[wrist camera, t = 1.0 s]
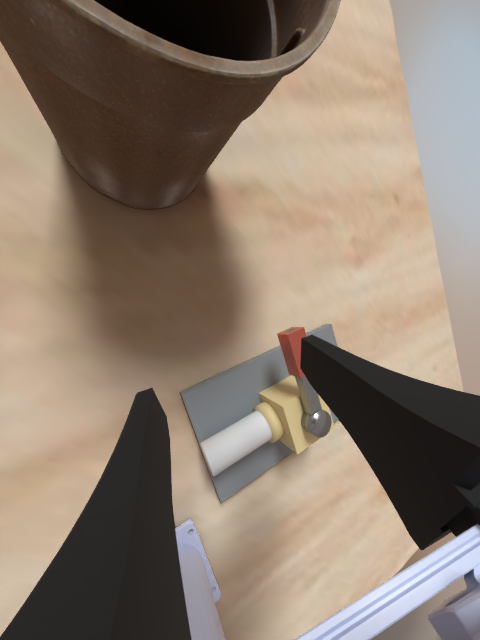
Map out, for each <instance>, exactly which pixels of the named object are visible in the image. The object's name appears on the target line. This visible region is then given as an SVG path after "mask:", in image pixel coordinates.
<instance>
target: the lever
mask: <svg viewBox="0 0 480 640" xmlns="http://www.w3.org/2000/svg"><path fill="white" fill-rule="evenodd" d="M277 335H278V338H279V342H280V345H281V349H282V352H283V355H284V359H285V362H286V366H287V369H288V372H289V375H292V376H295V379H296V382H297V386H298V389H299V393H300V396H301V399H302V403H303V406H304V410H305V412H304V413H303V416H302V425H303V428H304V429H305V430H306V431H308V432H309V433H311V434H313V435H314V436H316V437H318V438H321V437H324V436H325V435H327V434H328V432H329V430H330V428H331V424H332V420H331V416H330V414H329V413H328V412H326V411H324V410H322V407H321V403H320V400H319V396H318V393H317V392H316V391H315V390H314V388H313V387H312V386H311V384H310V383H309V381H308V380H307V378H306V377H305V375H304V373H303V372H302V370H301V368H300V361H301V338H303V337H306V333H305V329H304V327H291V328H289V329H287V330H285V331H282V332H280V333H278V334H277Z"/></svg>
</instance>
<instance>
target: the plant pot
mask: <svg viewBox="0 0 480 640" xmlns="http://www.w3.org/2000/svg"><path fill="white" fill-rule="evenodd" d="M340 1H341V0H0V41H1V43H2V45H3V46H4V48H5V50H6V51H7V53H8V55H9V57H10V58H11V60H12V62H13V64H14V65H15V67H16V69H17V71H18V72H19V74H20V76H21V78H22V80H23V81H24V83H25V85H26V87H27V89H28V90H29V92H30V94H31V96H32V97H33V99H34V101H35V103H36V104H37V106H38V108H39V110H40V112H41V113H42V115H43V117H44V119H45V120H46V122H47V124H48V126H49V128H50V129H51V131H52V133H53V135H54V137H55V139H56V140H57V142H58V144H59V146H60V148H61V150H62V152H63V154H64V155H65V157H66V158H67V160H68V161H69V163H70V164H71V166H72V167H73V168H74V169H75V171H76V172H77V173H78V174H79V175H80V176H81V177H82V178H83V179H84V180H85V181H86V182H87V183H88V184H89V185H90V186H91V187H93V188H94V189H95V190H97V191H98V192H100V193H102V194H104V195H107V196H109V197H111V198H113V199H115V200H117V201H119V202H121V203H123V204H125V205H127V206H130V207H134V208H140V209H159V208H164V207H169V206H171V205H174V204H176V203H178V202H180V201H182V200H183V199H185V198H186V197H187V196H188V195H189V194H190V193H191V192H192V191H193V190H194V189H195V187H196V185H197V184H198V182H199V181H200V179H201V178H202V176H203V175H204V174H205V172H206V171H207V169H208V168H209V166H210V165H211V164H212V162H213V161H214V159H215V158H216V157H217V155H218V154H219V152H220V151H221V150H222V148H223V147H224V145H225V144H226V143H227V141H228V140H229V138H230V137H231V136H232V134H233V133H234V132H235V130H236V129H237V127H238V126H239V125H240V123H241V122H242V121H243V120H245V119H246V118H248V117H249V116H250V115H251V114H253V113H254V112H255V111H256V110H257V109H258V108H259V107H260V106H261V104H262V103H263V102H264V100H265V99H266V98H267V96H268V95H269V94H270V92H271V91H272V90H273V89H274V87H275V86H276V85H277V83H278V82H279V81H280V80H281V78H282V77H283V76H285V75H287V74H290V73H291V72H293V71H294V70H296V69H297V68H299V67H300V66H301V65H303V64H304V63H305V62H306V61H307V60H308V59H309V58H310V57H311V55H312V54H313V53H314V52H315V51H316V49H317V48H318V47H319V46H320V45H321V43H322V42H323V40H324V39H325V37H326V36H327V34H328V32H329V31H330V29H331V27H332V24H333V22H334V20H335V17H336V14H337V11H338V8H339V5H340Z"/></svg>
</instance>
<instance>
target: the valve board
mask: <svg viewBox="0 0 480 640" xmlns="http://www.w3.org/2000/svg"><path fill="white" fill-rule="evenodd" d="M309 335H314V336H317V337H319V338H321V339H323V340H325V341H327V342H329V343H331V344H333V345H335V346H337V343H336V340H335V336H334V332H333V328H332V324H325V325H323V326H321V327H319V328H317V329H315V330H313V331H310V332H308V333H306V336H309ZM180 394H181V396H182V399H183V402H184V405H185V407H186V410H187V413H188V416H189V418H190V421H191V424H192V427H193V429H194V432H195V435H196V437H197V440H198V443H199V446H200V448H201V451H202V454H203V457H204V459H205V462H206V465H207V467H208V470H209V473H210V476H211V478H212V481H213V484H214V487H215V489H216V492H217V495H218V497H219V499H220V501H221V503H222V502H224V501H225V500H226V499H228V498H229V497H231V496H232V495H233V494H235V493H236V492H237V491H239V490H240V489H242V488H243V487H244V486H246V485H247V484H249V483H250V482H251V481H253V480H254V479H256V478H257V477H258V476H260V475H261V474H263V473H264V472H265V471H267V470H268V469H270V468H271V467H272V466H274V465H275V464H277V463H278V462H279V461H281V460H282V459H284V458H285V457H286V456H288V455H289V454H291V453H292V452H293V451H294V452H295V453H296V454H297V455H298V454H299V453H301V452H302V451H303V450H305V449H306V448H308V447H309V446H310V445H312V444H313V443H314V442H316V441H317V440H318V439H320V438H318V437H316V436H314V435H313V434H311V433H309V432H308V431H306V430H305V429H304V428H303V425H302V416H303V413H304V412H305V410H304V406H303V403H302V399H301V396H300V393H299V389H298V386H297V382H296V379H295V376H292V375H289V372H288V369H287V366H286V362H285V359H284V355H283V352H282V349H281V345H280V346H278V347H276V348H274V349H272V350H270V351H267V352H265V353H263V354H261V355H259V356H257V357H255V358H252V359H250V360H248V361H246V362H244V363H242V364H240V365H237V366H235V367H233V368H231V369H229V370H227V371H225V372H222V373H220V374H218V375H216V376H214V377H212V378H210V379H207V380H205V381H203V382H201V383H199V384H197V385H195V386H192V387H190V388H188V389H186V390H184V391H182V392H180ZM318 396H319V395H318ZM319 400H320V403H321V407H322V410H324V411H326V412H328V413H329V414H330V416H331V420H332V424H331V428H330V430H329V431H331V430H332V429H334V428H335V427H334V422H335V421H337V420H338V418H337V417H336V416H335V414H334V413H333V412H332V411H331V410H330V408H329V407H328V406H327V405H326V403H325V402H324V401H323V400H322V398H321V397H320V396H319Z"/></svg>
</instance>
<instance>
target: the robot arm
mask: <svg viewBox="0 0 480 640" xmlns="http://www.w3.org/2000/svg"><path fill="white" fill-rule="evenodd" d="M300 368H301V370H302V372H303V373H304V375H305V377H306V378H307V380H308V381H309V383H310V384H311V386H312V387H313V388H314V390H315V391H316V392H317V393H318V395H319V396H320V397H321V398H322V400H323V401H324V402H325V403H326V405H327V406H328V407H329V408H330V410H331V411H332V412H333V413H334V414H335V416H336V417H337V418H338V419H339V421H340V422H341V423H342V425H343V426H344V427H345V429H346V430H347V431H348V433H349V434H350V436H351V437H352V439H353V440H354V442H355V443H356V445H357V446H358V448H359V449H360V451H361V452H362V454H363V455H364V457H365V459H366V460H367V462H368V463H369V465H370V466H371V468H372V470H373V471H374V473H375V475H376V476H377V478H378V480H379V481H380V483H381V485H382V486H383V488H384V490H385V491H386V493H387V495H388V496H389V498H390V500H391V502H392V503H393V505H394V507H395V509H396V511H397V512H398V514H399V516H400V518H401V519H402V521H403V523H404V525H405V527H406V529H407V531H408V532H409V534H410V536H411V537H412V539H413V540H414V541H415V543H416V544H417V546H418V547H419V548H420V549H421V550H424V549H425V548H427V547H428V546H430V545H432V544H433V543H435V542H436V541H438V540H439V539H441V538H443V537H444V536H446V535H447V534H449V533H451V532H452V533H453V534H454V535H455V536H456V538H454V539H452V540H451V541H449V542H448V543H446V544H445V545H443V546H441V547H440V548H438V549H437V550H435V551H433V552H432V553H430V554H429V555H427V556H426V557H424V558H422V559H421V560H419V561H418V562H416V563H415V564H413V565H411V566H410V567H408V568H407V569H405V570H403V571H402V572H400V573H399V574H397V575H396V576H394V577H392V578H391V579H389V580H388V581H386V582H385V583H383V584H381V585H380V586H378V587H377V588H375V589H374V590H372V591H370V592H369V593H367V594H366V595H364V596H362V597H361V598H359V599H358V600H356V601H355V602H353V603H351V604H350V605H348V606H347V607H345V608H344V609H342V610H340V611H339V612H337V613H336V614H334V615H333V616H331V617H329V618H328V619H326V620H325V621H323V622H322V623H320V624H318V625H317V626H315V627H314V628H312V629H310V630H309V631H307V632H306V633H304V634H303V635H301V636H299V637H298V638H296V639H295V640H370V639H371V638H373V637H375V636H376V635H377V634H379V633H380V632H382V631H383V630H385V629H386V628H388V627H389V626H391V625H392V624H393V623H395V622H396V621H398V620H399V619H401V618H402V617H404V616H405V615H406V614H408V613H410V612H411V611H412V610H414V609H415V608H417V607H418V606H420V605H421V604H423V603H424V602H426V601H427V600H428V599H430V598H431V597H433V596H434V595H436V594H437V593H439V592H440V591H442V590H443V589H445V588H446V587H447V586H449V585H450V584H452V583H453V582H455V581H456V580H458V579H459V578H461V577H462V576H463V575H464V579H465V582H466V585H467V588H466V589H465V590H463V591H461V592H459V593H457V594H455V595H453V596H451V597H450V598H448V599H447V600H445V601H444V602H442V603H441V604H440V605H439V606H438V607H436V608H435V609H434V610H433V611H432V612H431V613H429V615H428V618H429V621H430V622H431V624H432V625H433V627H434V629H435V630H436V632H437V633H438V635H437V636H436V637H434V638H433V639H431V640H480V396H477V395H474V394H469V393H465V392H461V391H456V390H453V389H449V388H445V387H441V386H438V385H434V384H431V383H427V382H424V381H420V380H417V379H414V378H411V377H408V376H405V375H402V374H400V373H397V372H394V371H391V370H388V369H386V368H383V367H381V366H378V365H376V364H374V363H371V362H369V361H367V360H364V359H362V358H360V357H358V356H355V355H353V354H351V353H349V352H347V351H345V350H343V349H341V348H339V347H337V346H335V345H333V344H331V343H329V342H327V341H325V340H323V339H321V338H319V337H317V336H314V335H309V336H306V337H303V338H301V361H300ZM190 529H192V530H191V531H189V530H190ZM220 597H221V592H220V589H219V586H218V584H217V581H216V579H215V576H214V574H213V571H212V568H211V566H210V563H209V561H208V558H207V556H206V553H205V550H204V548H203V545H202V543H201V540H200V538H199V535H198V532H197V530H196V527H195V525H194V522H193V520H191V519H189V520H187V521H185V522H184V523H182V524H181V525H180V526H178V527H177V528H175V523H174V515H173V505H172V485H171V455H170V437H169V430H168V423H167V417H166V415H165V413H164V411H163V409H162V407H161V405H160V403H159V401H158V399H157V397H156V395H155V393H154V391H153V389H152V388H150V389H147V390H144V391H141V392H138V393H137V394H136V396H135V399H134V401H133V404H132V407H131V410H130V412H129V415H128V418H127V420H126V423H125V425H124V428H123V430H122V433H121V435H120V437H119V440H118V442H117V445H116V447H115V449H114V451H113V453H112V455H111V458H110V460H109V462H108V464H107V466H106V468H105V470H104V472H103V474H102V476H101V478H100V480H99V482H98V484H97V486H96V488H95V490H94V492H93V494H92V495H91V497H90V499H89V501H88V503H87V504H86V506H85V508H84V510H83V511H82V513H81V515H80V517H79V518H78V520H77V522H76V523H75V525H74V527H73V528H72V530H71V532H70V533H69V535H68V537H67V538H66V540H65V542H64V543H63V545H62V546H61V548H60V550H59V551H58V553H57V554H56V556H55V558H54V559H53V561H52V562H51V564H50V565H49V567H48V568H47V570H46V571H45V573H44V574H43V576H42V577H41V579H40V580H39V582H38V583H37V585H36V586H35V588H34V589H33V591H32V592H31V594H30V595H29V597H28V598H27V600H26V601H25V603H24V604H23V606H22V607H21V608H20V610H19V611H18V613H17V614H16V616H15V617H14V619H13V620H12V621H11V623H10V624H9V625H8V627H7V628H6V630H5V631H4V632H3V634H2V635H1V637H0V640H226V639H225V636H224V632H223V629H222V625H221V622H220V619H219V615H218V612H217V608H216V605H215V603H216V602H217V601H218V600H219V599H220Z"/></svg>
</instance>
